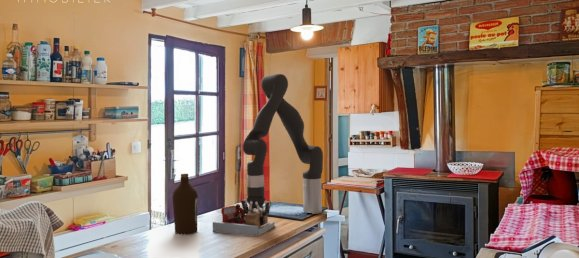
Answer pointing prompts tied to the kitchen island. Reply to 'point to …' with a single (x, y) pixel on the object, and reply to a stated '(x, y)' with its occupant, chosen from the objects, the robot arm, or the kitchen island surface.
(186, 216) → the olive oil
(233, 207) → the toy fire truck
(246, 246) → the kitchen island surface
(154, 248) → the kitchen island surface
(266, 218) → the wing block
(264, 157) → the robot arm
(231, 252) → the kitchen island surface
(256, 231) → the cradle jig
